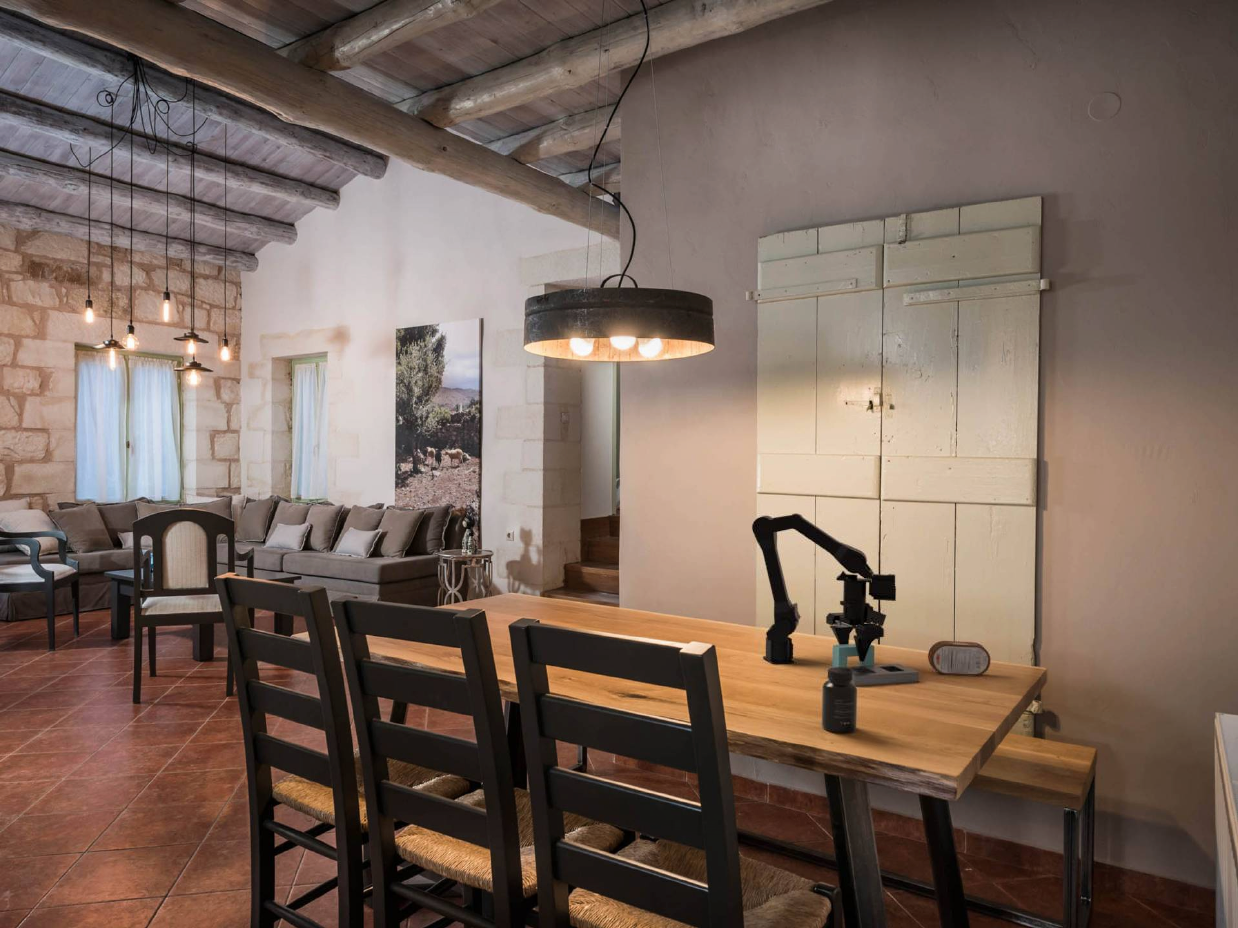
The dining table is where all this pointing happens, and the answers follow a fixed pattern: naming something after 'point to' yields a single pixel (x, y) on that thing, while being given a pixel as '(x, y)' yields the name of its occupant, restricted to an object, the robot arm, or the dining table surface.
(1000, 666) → the dining table surface
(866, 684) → the plate with rectangular holes
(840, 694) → the supplement bottle
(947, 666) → the tin
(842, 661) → the teal u-shaped block
